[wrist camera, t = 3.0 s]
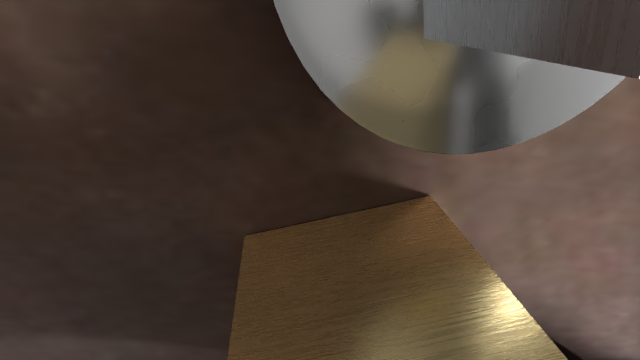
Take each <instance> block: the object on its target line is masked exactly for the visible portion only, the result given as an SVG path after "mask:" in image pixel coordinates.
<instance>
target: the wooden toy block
mask: <svg viewBox="0 0 640 360" xmlns="http://www.w3.org/2000/svg"><path fill="white" fill-rule="evenodd" d="M227 360H568V359H567V358H566V357H565V356H564V355H563V353H562V352H561V351H560V350H559V349H558V347H557V346H556V345H555V344H554V343H553V341H552V340H551V339H550V338H549V337H548V336H547V334H546V333H545V332H544V331H543V330H542V328H541V327H540V326H539V325H538V324H537V322H536V321H535V320H534V319H533V318H532V316H531V315H530V314H529V313H528V312H527V310H526V309H525V308H524V307H523V306H522V304H521V303H520V302H519V301H518V300H517V298H516V297H515V296H514V295H513V294H512V293H511V291H510V290H509V289H508V288H507V287H506V285H505V284H504V283H503V282H502V281H501V279H500V278H499V277H498V276H497V275H496V273H495V272H494V271H493V270H492V269H491V267H490V266H489V265H488V264H487V263H486V261H485V260H484V259H483V258H482V257H481V256H480V254H479V253H478V252H477V251H476V250H475V248H474V247H473V246H472V245H471V244H470V242H469V241H468V240H467V239H466V238H465V236H464V235H463V234H462V233H461V232H460V230H459V229H458V228H457V227H456V226H455V224H454V223H453V222H452V221H451V220H450V218H449V217H448V216H447V215H446V214H445V213H444V211H443V210H442V209H441V208H440V207H439V205H438V204H437V203H436V202H435V201H434V199H433V198H432V197H431V196H427V197H422V198H418V199H413V200H409V201H404V202H399V203H395V204H390V205H386V206H381V207H376V208H372V209H367V210H362V211H358V212H353V213H349V214H344V215H339V216H335V217H330V218H326V219H321V220H316V221H312V222H307V223H303V224H298V225H293V226H289V227H284V228H279V229H275V230H270V231H266V232H261V233H256V234H252V235H247V236H244V243H243V251H242V258H241V265H240V272H239V279H238V286H237V294H236V301H235V308H234V315H233V322H232V329H231V337H230V344H229V351H228V358H227Z"/></svg>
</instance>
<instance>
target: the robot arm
mask: <svg viewBox="0 0 640 360" xmlns="http://www.w3.org/2000/svg"><path fill="white" fill-rule="evenodd" d="M548 337H549V336H548ZM549 338H550V337H549ZM550 339H551V340H552V341H553V343H554V344H555V345H556V346H557V347H558V349H559V350H560V351H561V352H562V353H563V355H564V356H565V357H566V358H567V359H568V360H584V359H582V358H581V357H579V356H578V355H576V354H575V353H573V352H572V351H570V350H569V349H567V348H566V347H564V346H563V345H561V344H559V343H558V342H556V341H555V340H553V339H552V338H550Z"/></svg>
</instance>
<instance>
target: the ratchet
mask: <svg viewBox="0 0 640 360" xmlns="http://www.w3.org/2000/svg"><path fill="white" fill-rule="evenodd" d="M273 1H274V5H275V8H276V10H277V13H278V15H279V18H280V20H281V23H282V25H283V28H284V30H285V33H286V35H287V37H288V39H289V41H290V43H291V45H292V46H293V48H294V50H295V52H296V54H297V55H298V57H299V59H300V61H301V63H302V64H303V66H304V68H305V69H306V70H307V72H308V73H309V74H310V76H311V77H312V78H313V80H314V81H315V83H316V84H317V85H318V87H319V88H320V89H321V91H322V92H323V93H324V94H325V95H326V96H327V97H328V98H329V99H330V100H331V101H332V102H333V103H334V104H335V105H336V106H337V107H338V108H339V109H340V110H341V111H342V112H344V113H345V114H346V115H347V116H349V117H350V118H351V119H353V120H354V121H355V122H356V123H358V124H359V125H360V126H362V127H364V128H366V129H367V130H369V131H371V132H372V133H374V134H376V135H378V136H379V137H381V138H384V139H386V140H389V141H391V142H394V143H396V144H399V145H401V146H404V147H408V148H412V149H416V150H420V151H424V152H432V153H442V154H472V153H479V152H485V151H492V150H497V149H501V148H504V147H508V146H512V145H515V144H519V143H522V142H524V141H527V140H529V139H532V138H534V137H537V136H539V135H542V134H544V133H546V132H548V131H550V130H552V129H554V128H556V127H558V126H559V125H561V124H563V123H565V122H567V121H569V120H570V119H572V118H573V117H575V116H576V115H578V114H579V113H581V112H583V111H584V110H586V109H587V108H589V107H590V106H592V105H593V104H594V103H595V102H597V101H598V100H599V99H600V98H602V97H603V96H604V95H606V94H607V93H608V92H609V91H611V90H612V89H613V88H614V87H615V86H617V85H618V84H619V83H620V82H621V81H622V80H623V79H624V78H625V77H631V78H636V79H640V0H273Z"/></svg>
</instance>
